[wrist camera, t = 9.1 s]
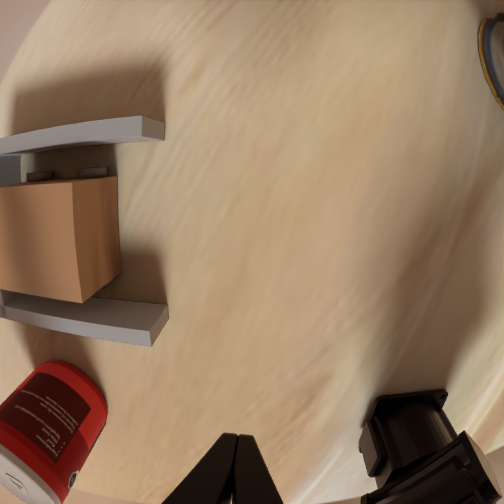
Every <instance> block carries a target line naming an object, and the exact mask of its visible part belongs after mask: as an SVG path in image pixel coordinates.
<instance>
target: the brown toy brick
mask: <svg viewBox="0 0 504 504" xmlns="http://www.w3.org/2000/svg"><path fill="white" fill-rule="evenodd" d="M119 273H121V259H120V244H119V225H118V176H111V177H107V167H95V168H80V169H78V178H67V179H52V171H42V172H32V173H27V182H23V183H17V184H11V185H5V186H0V289H3V290H8V291H13V292H18V293H24V294H29V295H35V296H40V297H46V298H52V299H58V300H65V301H71V302H77V303H84V302H85V301H86V300H87V299H88V298H90V297H91V296H92V295H93V294H95V293H96V292H97V291H98V290H99V289H103V288H106V287H109V286H110V285H112V279H113V278H114V277H116V276H117V275H118V274H119Z"/></svg>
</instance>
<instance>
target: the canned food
mask: <svg viewBox="0 0 504 504" xmlns="http://www.w3.org/2000/svg"><path fill="white" fill-rule="evenodd" d="M107 413H108V412H107V405H106V402H105V399H104V397H103V395H102V394H101V392H100V391H99V389H98V388H97V386H96V385H95V384H94V383H93V382H92V381H91V380H90V379H89V378H88V377H87V376H86V375H85V374H84V373H82V372H81V371H80V370H79V369H77V368H75V367H74V366H72V365H70V364H67V363H65V362H61V361H49V362H46V363H44V364H41V365H40V366H38V367H37V368H36V369H35V370H34V371H33V372H32V373H31V374H30V375H29V376H28V377H27V378H26V379H25V380H24V381H23V382H22V383H21V384H20V385H19V386H18V387H17V389H16V390H15V391H14V392H13V393H12V394H11V395H10V396H9V397H8V398H7V399H6V400H5V401H4V402H3V403H2V404H1V405H0V484H1V485H2V486H3V487H5V488H6V489H7V490H8V491H10V492H11V493H12V494H13V495H15V496H16V497H18V498H19V499H21V500H22V501H24V502H25V503H27V504H63V501H64V500H65V498H66V496H67V495H68V493H69V491H70V489H71V487H72V485H73V483H74V481H75V480H76V478H77V476H78V474H79V472H80V470H81V468H82V467H83V465H84V463H85V461H86V459H87V457H88V456H89V454H90V452H91V450H92V448H93V446H94V445H95V443H96V441H97V439H98V437H99V436H100V434H101V432H102V430H103V428H104V427H105V425H106V420H107Z"/></svg>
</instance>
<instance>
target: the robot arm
mask: <svg viewBox="0 0 504 504" xmlns="http://www.w3.org/2000/svg"><path fill="white" fill-rule="evenodd" d="M447 396H448V392H447V391H446V390H445V389H440V390H432V391H425V392H416V393H407V394H396V395H384V396H380V397H378V398H377V399H376V400H375V403H374V406H373V409H372V412H371V415H370V418H369V419H368V420H367V421H366V423H365V426H364V429H363V431H362V434H361V437H360V440H359V443H360V445H359V452H360V453H362V454H363V458H364V462H365V465H366V469H367V473H368V476H369V477H375V480H376V483H377V487H378V489H377V490H375V491H373V492H371V493H367V494H365V495H363V496H361V504H496V502H497V501H498V500H499V499H501V498H502V493H501V490H500V487H499V484H498V482H497V479H496V476H495V473H494V471H493V468H492V467H491V465H490V463H489V462H488V460H487V458H486V457H485V455H484V453H483V452H482V450H481V449H480V448H479V446H478V445H477V444H476V443H475V442H474V441H473V440H472V438H471V437H470V436H469V435H468V434H467V433H466V432H465V430H464V431H462V432H461V433H460V434H459V435H457V434H456V432H455V430H454V428H453V427H452V425H451V423H450V421H449V420H448V418H447V416H446V414H445V413H444V411H443V409H442V408H443V405H444V403H445V401H446V399H447ZM381 402H382V403H381ZM231 499H232V504H283V501H282V499H281V497H280V495H279V493H278V491H277V488H276V486H275V484H274V482H273V480H272V477H271V475H270V473H269V471H268V468H267V466H266V464H265V462H264V459H263V457H262V455H261V452H260V450H259V448H258V445H257V443H256V441H255V438H254V437H253V436H252V435H244V434H240V435H239V436H238V435H237V434H234V433H223V434H222V435H221V436H220V437H219V438H218V440H217V441H216V442H215V443H214V444H213V446H212V447H211V448H210V449H209V450H208V452H207V453H206V454H205V455H204V456H203V458H202V459H201V460H200V461H199V462H198V463H197V465H196V466H195V467H194V468H193V469H192V470H191V471H190V473H189V474H188V475H187V476H186V477H185V478H184V479H183V481H182V482H181V483H180V484H179V485H178V486H177V487H176V488H175V489H174V491H173V492H172V493H171V494H170V495H169V496H168V497H167V498H166V499H165V500H164V501H163V502H162V503H161V504H231Z"/></svg>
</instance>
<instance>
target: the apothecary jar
mask: <svg viewBox="0 0 504 504" xmlns="http://www.w3.org/2000/svg"><path fill="white" fill-rule="evenodd" d="M478 45H479V54H480V59H481V63H482V68H483V71H484V74H485V77H486V79H487V82H488V84H489V86H490V88H491V90H492V92H493V95H494V96H495V98H496V100H497V101H498V103H499V105H500V106H501V108H502V109H503V110H504V13H498V14H497V16H496V17H495V19H489V18H486V19H485V20H484V21H483V23H482V24H481V27H480V30H479V34H478Z"/></svg>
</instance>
